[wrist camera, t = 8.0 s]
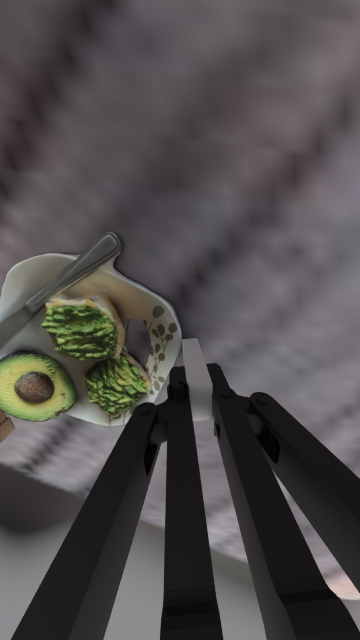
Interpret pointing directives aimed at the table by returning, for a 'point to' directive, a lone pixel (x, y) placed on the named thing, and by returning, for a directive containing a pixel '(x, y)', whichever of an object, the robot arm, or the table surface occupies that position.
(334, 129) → the table surface
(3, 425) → the stop rail
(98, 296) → the salad plate
